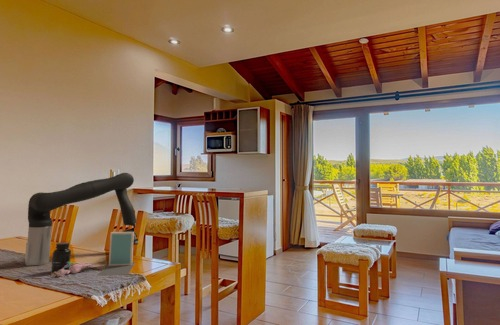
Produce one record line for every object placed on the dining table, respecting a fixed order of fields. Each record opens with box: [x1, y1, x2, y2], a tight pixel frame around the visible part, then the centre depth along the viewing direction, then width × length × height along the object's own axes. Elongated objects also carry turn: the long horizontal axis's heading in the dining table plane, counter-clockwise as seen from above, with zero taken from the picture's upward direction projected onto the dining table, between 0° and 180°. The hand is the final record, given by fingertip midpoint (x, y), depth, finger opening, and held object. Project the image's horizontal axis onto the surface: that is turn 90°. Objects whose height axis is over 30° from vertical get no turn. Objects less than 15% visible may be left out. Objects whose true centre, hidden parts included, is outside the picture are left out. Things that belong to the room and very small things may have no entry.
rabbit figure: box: [50, 261, 93, 278], centre depth 131 cm, size 6×6×15 cm
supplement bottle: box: [50, 241, 72, 274], centre depth 135 cm, size 7×7×12 cm
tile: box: [108, 231, 134, 266], centre depth 147 cm, size 2×10×15 cm, turn 103°
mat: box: [96, 261, 136, 277], centre depth 140 cm, size 22×12×1 cm, turn 13°
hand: (122, 245), depth 148 cm, fingers closed
